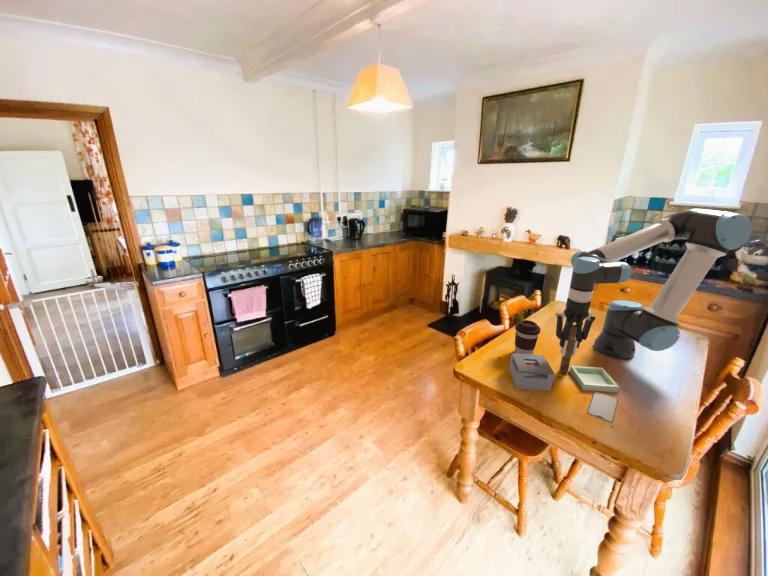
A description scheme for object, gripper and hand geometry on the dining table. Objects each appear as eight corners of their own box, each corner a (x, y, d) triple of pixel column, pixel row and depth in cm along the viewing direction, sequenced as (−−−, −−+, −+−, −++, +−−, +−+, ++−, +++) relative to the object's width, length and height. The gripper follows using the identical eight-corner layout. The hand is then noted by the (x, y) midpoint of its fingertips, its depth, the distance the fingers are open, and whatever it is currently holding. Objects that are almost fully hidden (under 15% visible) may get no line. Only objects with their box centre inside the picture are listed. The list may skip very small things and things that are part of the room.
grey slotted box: (540, 371, 130) (543, 355, 127) (550, 390, 119) (554, 373, 116) (509, 369, 131) (511, 353, 129) (516, 388, 120) (519, 370, 117)
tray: (601, 372, 129) (602, 367, 128) (617, 392, 118) (619, 386, 117) (569, 370, 130) (570, 365, 130) (582, 389, 119) (584, 384, 118)
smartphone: (618, 399, 114) (612, 422, 104) (618, 400, 115) (612, 424, 104) (594, 390, 119) (586, 412, 108) (594, 391, 119) (586, 413, 108)
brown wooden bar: (566, 368, 131) (575, 324, 124) (569, 372, 128) (579, 327, 121) (558, 367, 131) (567, 323, 124) (561, 372, 128) (570, 327, 121)
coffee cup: (537, 361, 137) (543, 329, 132) (513, 358, 139) (518, 327, 133) (532, 349, 146) (538, 319, 141) (509, 346, 148) (514, 317, 143)
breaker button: (533, 372, 126) (535, 363, 125) (537, 378, 122) (539, 370, 121) (522, 371, 127) (523, 362, 125) (525, 378, 123) (527, 369, 121)
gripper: (597, 295, 121) (584, 349, 129) (552, 294, 123) (542, 347, 131) (607, 303, 114) (593, 360, 122) (560, 302, 116) (549, 358, 124)
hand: (567, 353), depth 127 cm, fingers closed on brown wooden bar, 3 cm apart
